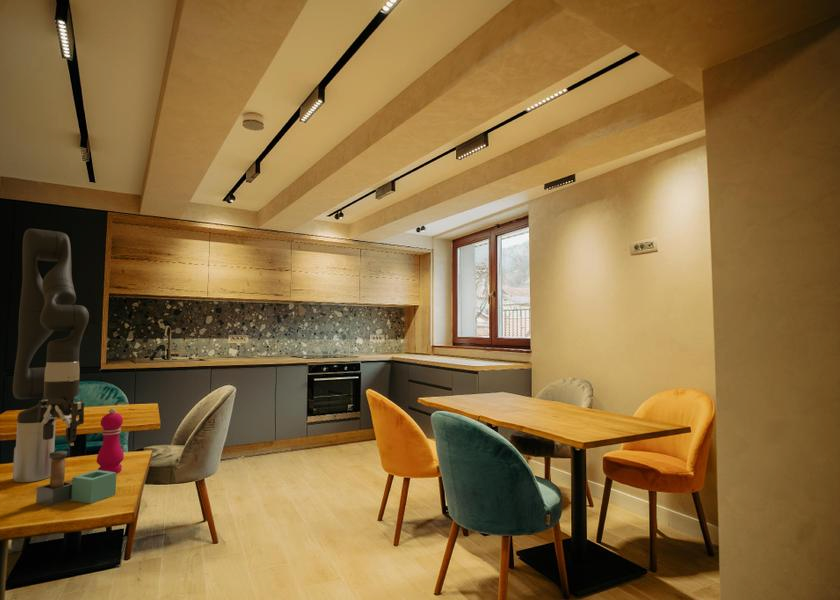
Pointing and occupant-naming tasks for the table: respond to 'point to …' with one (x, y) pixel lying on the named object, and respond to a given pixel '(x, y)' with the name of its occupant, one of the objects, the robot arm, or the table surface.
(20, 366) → the robot arm
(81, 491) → the socket
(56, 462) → the pin
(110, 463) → the pepper mill
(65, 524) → the table surface
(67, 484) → the mount
